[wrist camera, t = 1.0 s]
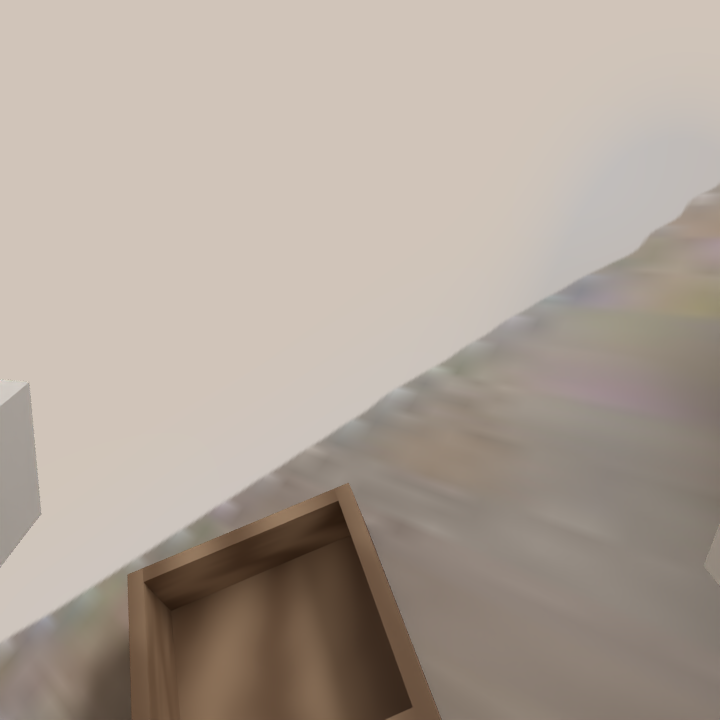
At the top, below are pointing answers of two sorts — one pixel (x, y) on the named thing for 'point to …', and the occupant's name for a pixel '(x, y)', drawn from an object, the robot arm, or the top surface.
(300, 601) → the walnut crate
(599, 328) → the top surface
